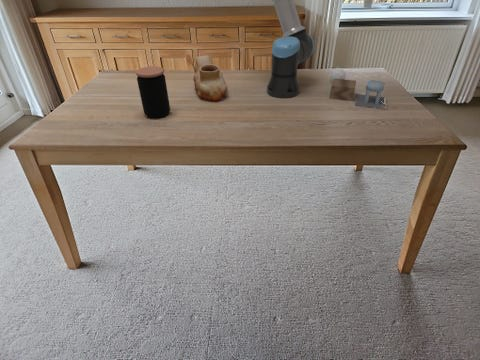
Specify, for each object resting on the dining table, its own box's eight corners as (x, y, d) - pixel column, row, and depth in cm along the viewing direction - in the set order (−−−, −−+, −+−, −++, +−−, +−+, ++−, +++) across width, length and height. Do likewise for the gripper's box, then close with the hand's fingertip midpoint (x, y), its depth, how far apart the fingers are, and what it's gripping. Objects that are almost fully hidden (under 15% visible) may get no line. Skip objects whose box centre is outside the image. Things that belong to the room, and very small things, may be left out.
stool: (362, 102, 134) (367, 85, 129) (363, 97, 140) (367, 79, 135) (379, 104, 132) (384, 86, 128) (379, 98, 138) (384, 81, 133)
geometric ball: (331, 88, 156) (323, 75, 154) (340, 79, 159) (332, 66, 156) (341, 85, 150) (334, 71, 147) (351, 76, 152) (343, 62, 149)
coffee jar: (175, 110, 131) (168, 67, 120) (162, 121, 123) (154, 76, 112) (153, 107, 134) (145, 65, 123) (139, 117, 126) (129, 73, 115)
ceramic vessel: (216, 81, 159) (214, 51, 150) (231, 100, 139) (230, 66, 130) (190, 85, 155) (186, 54, 146) (201, 104, 136) (198, 70, 127)
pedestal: (329, 98, 140) (331, 85, 136) (331, 90, 147) (333, 78, 143) (352, 101, 137) (355, 88, 133) (353, 93, 144) (356, 80, 141)
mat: (355, 105, 133) (355, 104, 133) (356, 94, 143) (356, 93, 143) (387, 109, 130) (387, 108, 129) (386, 98, 139) (386, 97, 139)
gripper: (395, -66, 97) (377, 10, 110) (392, -64, 116) (377, 1, 129) (370, -65, 99) (356, 9, 112) (371, -63, 118) (358, 0, 131)
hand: (367, 5), depth 120 cm, fingers open, 13 cm apart
